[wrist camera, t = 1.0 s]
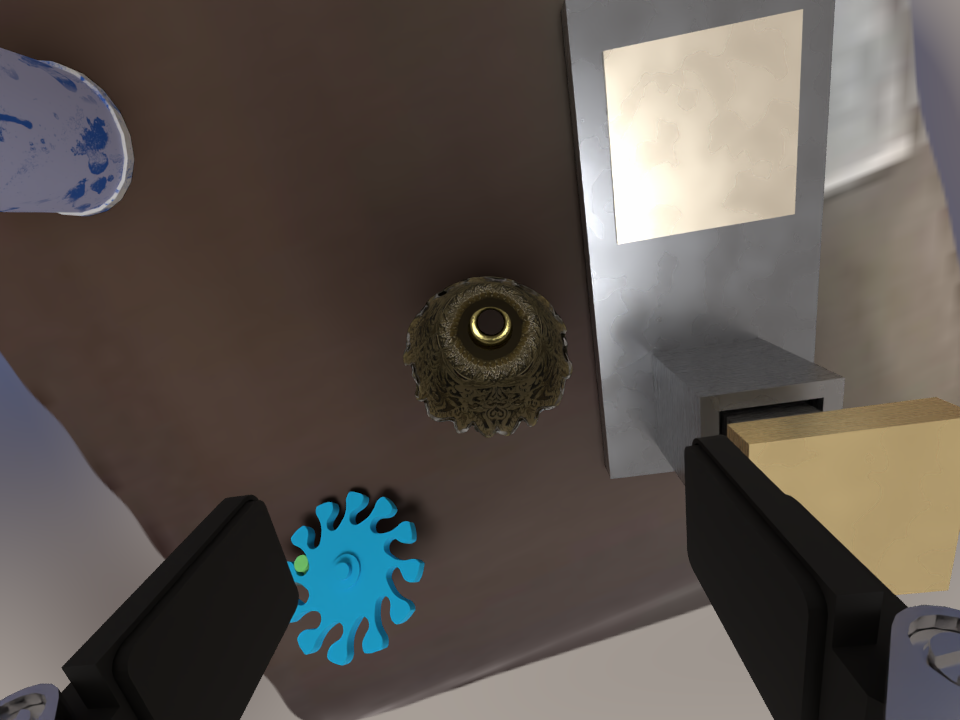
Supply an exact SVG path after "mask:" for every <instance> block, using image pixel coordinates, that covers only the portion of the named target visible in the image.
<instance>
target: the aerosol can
mask: <svg viewBox="0 0 960 720" xmlns="http://www.w3.org/2000/svg"><path fill="white" fill-rule="evenodd" d="M133 165H134V155H133V149H132V143H131V136H130V134H129V131H128V129H127V127H126V125H125V122H124V120H123V118H122V115H121V113H120V111H119V110H118V109H117V107H116V106H115V105H114V103H113V102H112V101H111V99H110V98H109V97H108V95H107V94H106V93H105V91H104V90H103V89H101V88H100V87H99V86H98V85H96V84H95V83H94V82H93V81H91V80H90V79H89V78H88V77H86V76H85V75H84V74H82V73H80V72H78V71H75V70H73V69H71V68H68V67H66V66H64V65H61V64H59V63H56V62H53V61H42V60H35V59H32V58H29V57H26V56H23V55H20V54H18V53H15V52H12V51H9V50H6V49H3V48H0V212H57V213H60V214H64V215H76V216H91V215H94V214H98V213H101V212H105V211H108V210H109V209H110V208H111V207H113V206H114V205H115V204H116V203H118V202H119V201H120V200H121V199H122V198H123V196H124V194H125V192H126V190H127V188H128V187H129V185H130V183H131V179H132V172H133Z"/></svg>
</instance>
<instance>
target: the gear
mask: <svg viewBox="0 0 960 720" xmlns="http://www.w3.org/2000/svg"><path fill="white" fill-rule="evenodd" d="M368 502H369V497H367V496H366V495H363V494H360V493H357V492H349V493H348V495H347V498H346V512H345V515H344V518H343V520H342V522H341V523H340V525H339V527H338V528H337V529H336V530H334V528H333V523H334V520H335V519H336V517H337V515H338V513H339V506H338V504H336V503H332V502H327V503H323V504H321V505H319V506H317V508H316V515H317V517H318V518H319V520H320V523H321V529H322V532H321V541H320V544H319V546H318V547H317V548H315V546H314V540H315V531H314V529H313V528H311V527H307V526H302V527H301V528H299V529H298V530H297V531H296V532H295V533H294V535H293V536H292V537H291V541H292V543H293V544H294V545H295V546H298V547H299V548H301V549H302V550H303V551H304V553H305V554H306V555H300V556H298V557H297V558H296V560H295V562H287V563H288V566H289V568H290V571H291V574H292V576H293V579H294V582H295V584H296V585H298V586H300V585H303V586H304V587H305V588H306V589H307V590H308V591H309V599H308V601H307V602H306V604H305V603H304V602H302V601H301V600H300V599H299V601H298V606H297V609H296V611H295V613H294V615H293V617H292V619H291V621H290V622H296V621H298V620H300V619H301V617H302V616H304V615H305V614H306V613H308V612H310V611H318V612H319V613H320V614H321V624H320V626H319V627H318V628H314V629H308V630H304V631H303V632H301V633H300V635H299V636H298V643H299V646H300V648H301V649H302V651H303V652H304V653H305V655H306V654H310V653H314V652H316V651H318V650H319V649H320V647H321V645H322V643H323V640H324V638H325V636H326V635H327V633H328V632H329V630H330V629H331V628H332V627H334V626H335V625H336V624H338V623H339V622H340V623H341V624H342V625H343V630H344V631H343V635H342V637H341V639H339V640H338V641H337V642H335V643H334V644H333V645H331V647H330V648H329V651H328V655H327V658H328V659H329V660H330V661H331V662H333V663H335V664H338V665H345V664H348V663H350V662H351V660H352V659H353V656H354V638H355V634H356V630H357V628H358V626H359V624H360V622H361V621H362V619H363V618H364V617H366V618H367V619H368V621H369V629H368V631H367V633H366V635H365V637H364V639H363V644H362V646H363V651H364V653H373V652H376V651H379V650H382V649H384V648H387V647H388V644H389V639H388V635H387V634H386V632H385V630H384V628H383V626H382V622H381V603H382V600H383V598H384V597H385V596H387V597H388V598H389V599H390V603H391V607H390V616H391V619H392V621H393V622H394V623H395V624H401V623H404V622H405V621H407V620H408V619H409V618H410V616H411V615H412V614H413V612H414V611H415V605H414V603H413V602H412V601H411V600H409V599H406V598H404V597H403V596H402V595H401V594H400V593H399V592H398V591H397V589H396V587H395V585H394V583H393V580H392V572H393V570H394V569H395V568H396V567H398V568H399V569H400V571H401V573H402V576H403V578H404V579H405V580H406V581H408V582H419V581H420V579H421V577H422V574H423V570H424V564H425V563H424V562H423V561H422V560H419V559H409V560H401V559H399V558H397V557H395V556H394V555H393V554H391V552H390V549H389V546H390V543H391V542H392V541H393V540H394V539H397V540H398V541H400V542H402V543H407V544H411V543H414V542H415V541H416V539H417V534H416V528H415V525H414V523H412V522H408V521H404V522H402V523H400V524H399V525H398V526H397V527H396V528H395V529H393V530H392V531H390V532H387V533H378V532H377V531H376V524H377V522H378V521H379V520H380V519H383V518H391V517H393V516H394V515H395V514H396V513H397V507H396V506H395V504H394V503H393V502H392V501H391V500H390V499H389V498H386V497H381V498H380V499H378V501H377V502H376V504H375V507H374V509H373V511H372V513H371V514H370V515H369V516H368V517H367V518H366V519H365V520H364V521H362V522H361V523H359V524H358V525H357V524H356V521H355V518H356V515H357V514H358V513H359V512H360V511H361V510H363V509H364V508H366V506H367V505H368Z"/></svg>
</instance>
